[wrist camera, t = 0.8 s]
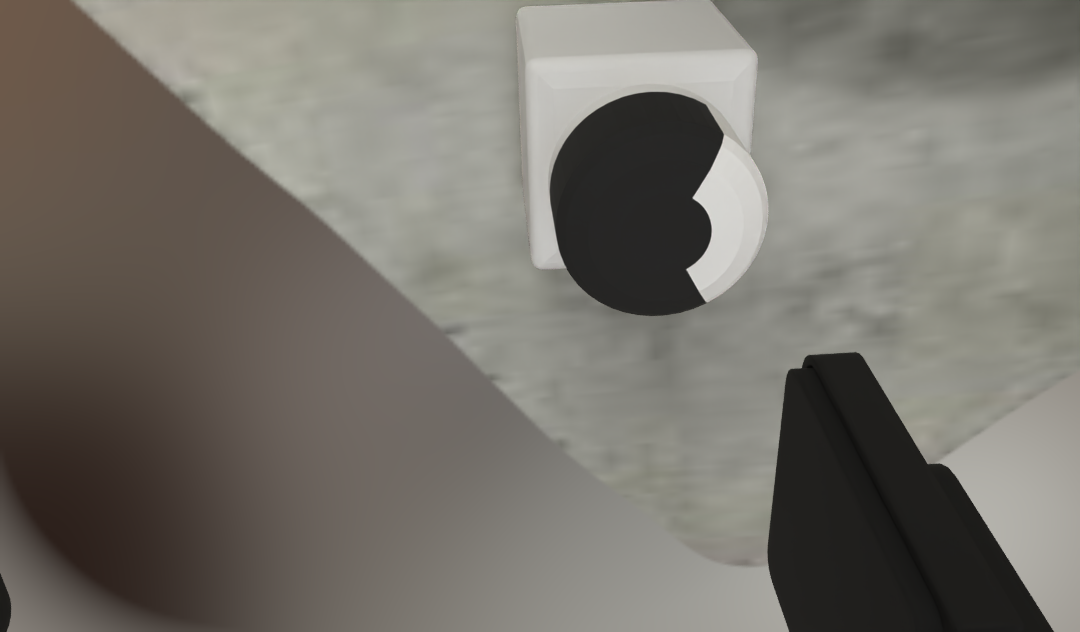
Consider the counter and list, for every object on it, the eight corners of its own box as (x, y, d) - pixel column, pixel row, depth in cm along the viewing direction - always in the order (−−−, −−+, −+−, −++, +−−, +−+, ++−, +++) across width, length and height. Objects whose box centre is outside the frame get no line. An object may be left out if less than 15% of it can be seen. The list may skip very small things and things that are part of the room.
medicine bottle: (522, 189, 40) (541, 351, 30) (515, 4, 37) (533, 115, 27) (702, 180, 41) (783, 338, 30) (713, -5, 37) (808, 103, 27)
